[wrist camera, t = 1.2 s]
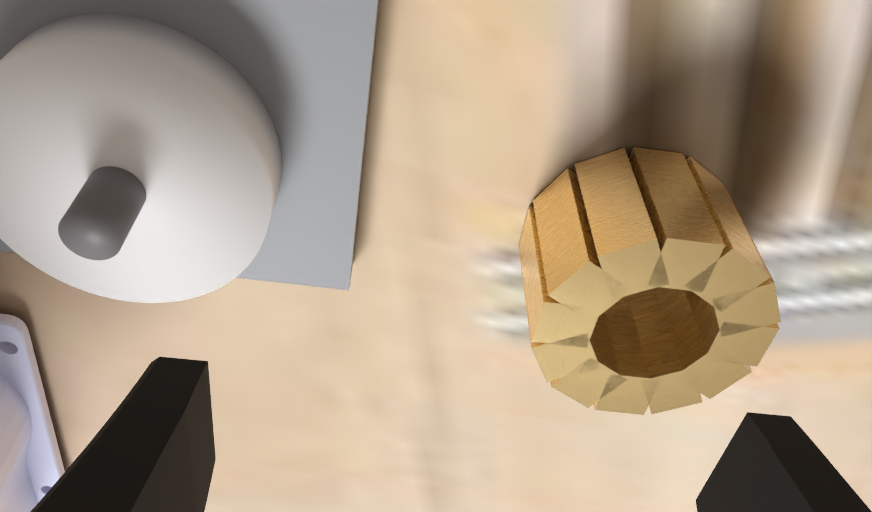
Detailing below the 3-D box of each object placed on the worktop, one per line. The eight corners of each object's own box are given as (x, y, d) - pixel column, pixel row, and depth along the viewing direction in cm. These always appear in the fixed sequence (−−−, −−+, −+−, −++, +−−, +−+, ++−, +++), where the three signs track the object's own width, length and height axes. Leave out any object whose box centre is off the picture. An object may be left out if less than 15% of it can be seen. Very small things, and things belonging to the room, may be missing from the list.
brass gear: (688, 323, 22) (723, 422, 19) (503, 302, 22) (512, 401, 19) (764, 164, 19) (821, 256, 16) (548, 135, 18) (567, 225, 16)
